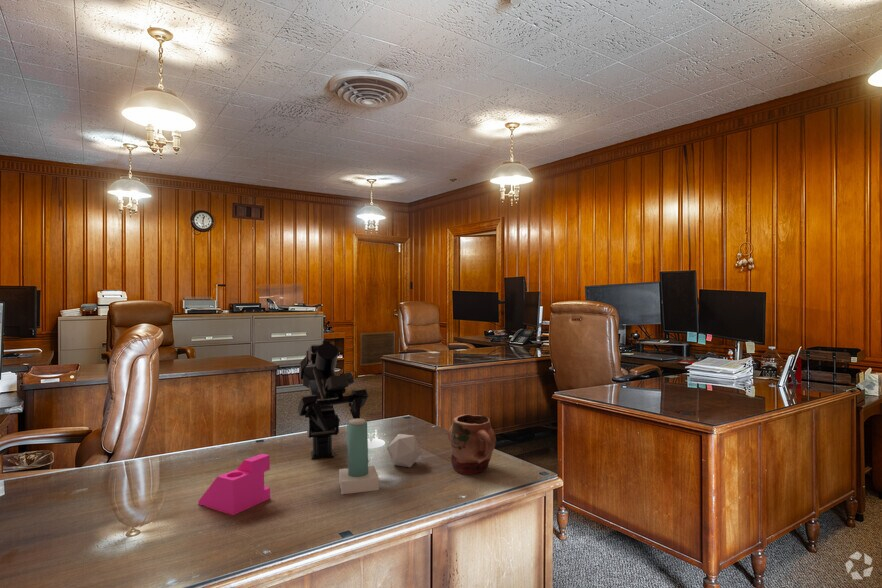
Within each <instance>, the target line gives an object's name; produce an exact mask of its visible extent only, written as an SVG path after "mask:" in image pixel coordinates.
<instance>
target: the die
mask: <svg viewBox="0 0 882 588" xmlns="http://www.w3.org/2000/svg"><path fill="white" fill-rule="evenodd" d="M386 450H387V452H388V454H389V457H390V459H391V462H392V464H393V466H399V467H406V468H412V466H413V465H414V464H415V462H416V461H418V459H419V457H420V456H421V454H422V449H421V447H420V444H419V442H418V440H417V437H416V435H412V434H402V433H398V434H397V435H396V436H395V437H394V438H393V439H392V441H391V442H390V443H389V444H388V445H387V447H386Z"/></svg>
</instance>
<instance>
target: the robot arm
mask: <svg viewBox="0 0 882 588" xmlns="http://www.w3.org/2000/svg"><path fill="white" fill-rule="evenodd" d="M339 357H340V352H339V349H338V347H337V346H336V345H335V344H333V343H331V341H330V340H322V343H321V344H319V343H318V344H311V345H310V347H309V348H308V350H306V351H305V356H304V358H303V359H302V360H301V361H300V363H299V380H300V381H301V383H302V386H304V387H305V388H308V392H309V395H303V396H302V397H301V399H300V401H299V404H298V407H297V411H298V415H299V416H300V417H305V418H307V424H306V433H307V434H306V435H307V437H308V438H309V439H311V438H312V450H311V451H310V452H311V453H310V454H311V460H316V459H317V460H319V459H329V458H334V457H335V451H334V449H333V436H338V434H340V433H339V432H340V429H339V428H340V421H341V419H340V418H339V416H338V414H336V411H335V408H334V406H337V405H344V404H348V406H349V407H350V409H349V410H350V413H351V417H352V419H356V418H361V408H362V407H364V406H365V403H366V402H367V400H368V398H369V396H370V395H369V392H368V391H367V388H359V389H358V388H356V389H352V391H351V393H350V395H344V394H345V393H346V392H347V390H346V388H347V387H349V386H350V385H352V384H354V382H355V378H354V375H353V373H352V372H351V371H350V372H348V371H347V372H344V373H343V374H338V375H337V374H336V370H335V368H336V367H337V363H338V362H337V361H338V358H339ZM309 363H310V364H311V365H309Z"/></svg>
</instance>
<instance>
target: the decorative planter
mask: <svg viewBox="0 0 882 588" xmlns="http://www.w3.org/2000/svg"><path fill="white" fill-rule="evenodd" d="M447 438H448V440H449V442H450V445H451V457H450V459H451V460H450V461H451V465H452V468H453V470H455V472H457V473H460V474H464V475H470V474H478V473H481V472H484V471H486V470H487V469H488V468H489V464H490V461H491V458H492V456H493V451H494V449H495V448H496V444H497V438H496V432H495V431H494V429H493V428H492V424H491V420H490V418H489V417H488V416H487V415H476V414H475V415H474V414H466V413H465V414H461V415H457V416H456V417H454V418H453V420H452V424H451V426H450V428H449V430H448V431H447Z"/></svg>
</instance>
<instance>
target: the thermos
mask: <svg viewBox="0 0 882 588" xmlns="http://www.w3.org/2000/svg"><path fill="white" fill-rule="evenodd" d="M346 430H347V431H346V433H347V434H346V435H347V468H348V475H349V476H352V477H361V476H365V475H367V474H368V466H369V444H368V443H369V438H368V434H369V433H368V422H367V421H366V419H365V418H361V417H360V418H356V419H353V418H351V419H349V420H348V422H347V424H346Z"/></svg>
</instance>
